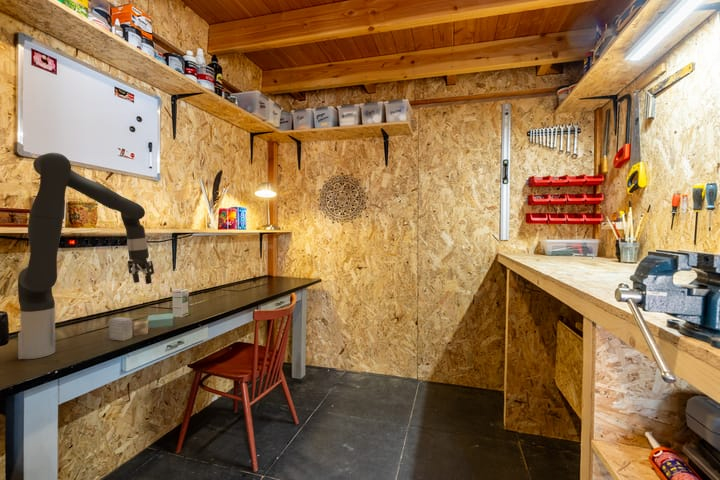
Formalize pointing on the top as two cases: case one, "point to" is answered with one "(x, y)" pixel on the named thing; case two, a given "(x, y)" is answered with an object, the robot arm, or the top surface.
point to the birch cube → (141, 328)
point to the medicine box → (120, 328)
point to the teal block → (160, 320)
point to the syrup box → (180, 302)
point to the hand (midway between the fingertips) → (142, 283)
